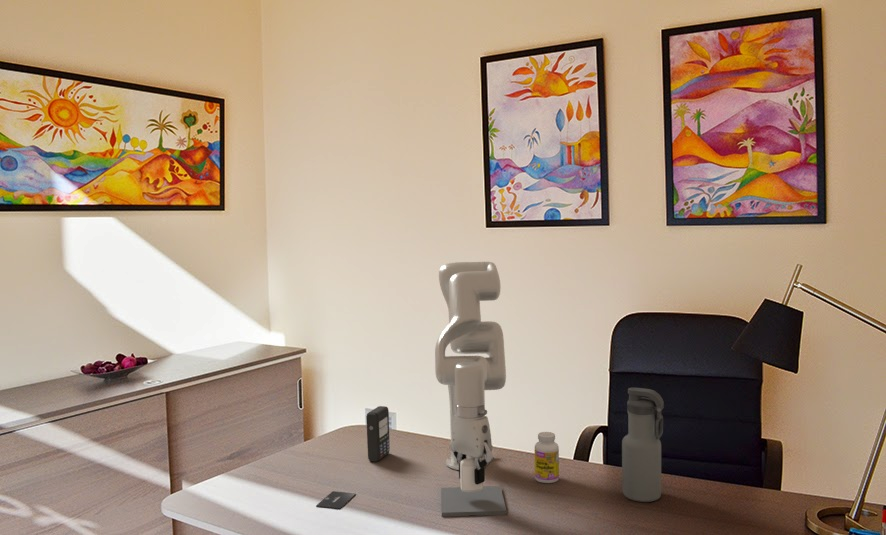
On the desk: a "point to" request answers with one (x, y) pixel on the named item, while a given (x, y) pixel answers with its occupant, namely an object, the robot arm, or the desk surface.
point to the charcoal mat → (472, 502)
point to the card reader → (378, 433)
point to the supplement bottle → (546, 458)
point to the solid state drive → (336, 500)
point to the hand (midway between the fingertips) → (471, 479)
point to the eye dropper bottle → (469, 475)
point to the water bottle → (642, 446)
